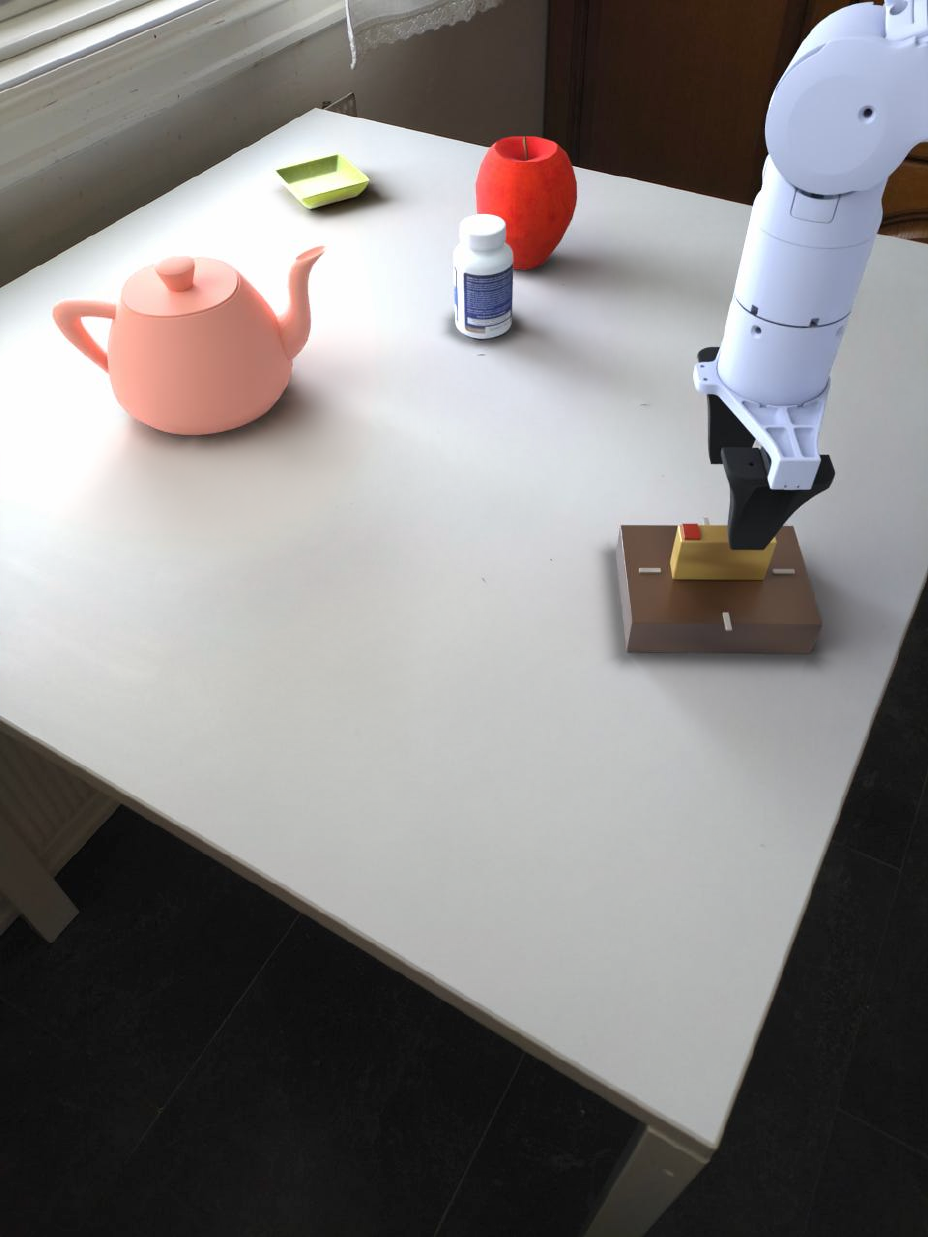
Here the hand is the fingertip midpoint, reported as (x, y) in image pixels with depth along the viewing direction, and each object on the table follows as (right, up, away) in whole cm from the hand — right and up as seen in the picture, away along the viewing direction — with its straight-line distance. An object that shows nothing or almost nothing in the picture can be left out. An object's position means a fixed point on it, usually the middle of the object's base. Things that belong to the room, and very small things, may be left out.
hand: (735, 501), depth 55 cm
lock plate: (0, -6, +7) cm, 9 cm away
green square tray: (-33, +42, +49) cm, 73 cm away
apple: (-10, +30, +38) cm, 49 cm away
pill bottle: (-15, +21, +30) cm, 40 cm away
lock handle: (0, -4, +5) cm, 6 cm away
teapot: (-38, +12, +24) cm, 47 cm away
